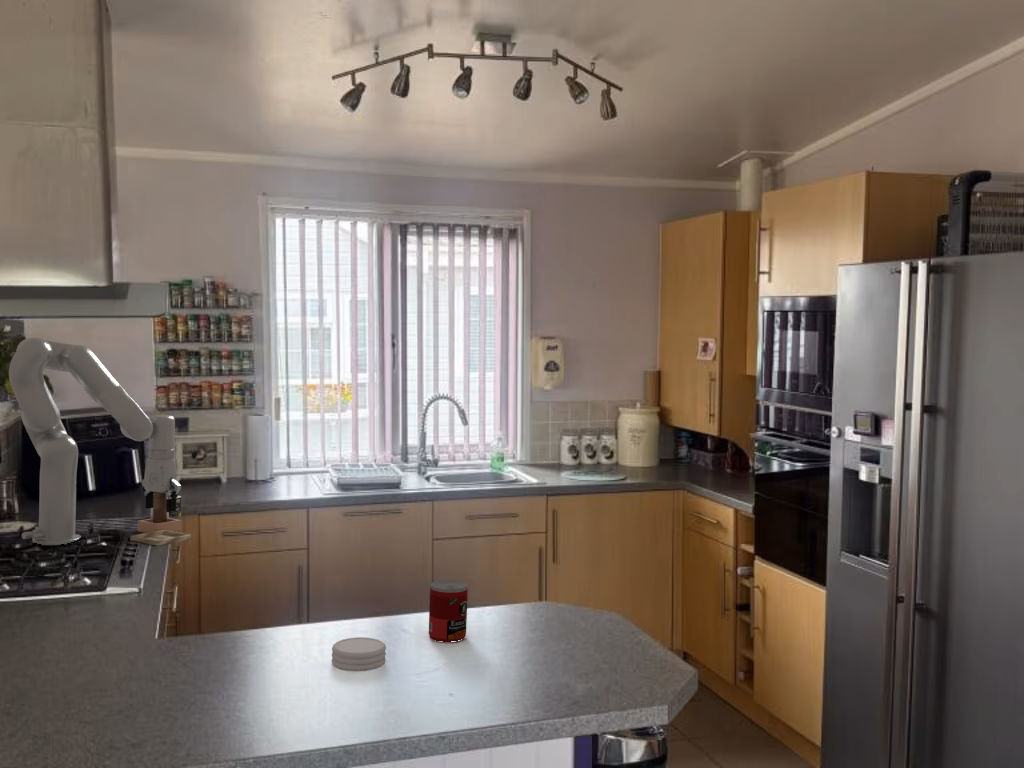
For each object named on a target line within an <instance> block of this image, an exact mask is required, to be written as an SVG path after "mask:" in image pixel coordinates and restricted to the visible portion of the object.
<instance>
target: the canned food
mask: <svg viewBox="0 0 1024 768" xmlns="http://www.w3.org/2000/svg"><path fill="white" fill-rule="evenodd" d="M468 590H469V587H468V584H467V583H466V582H463V581H462V580H461V581H459V580H453V579H440V580H435V581H433V582H431V583H430V585H429V604H428V605H429V607H428V608H429V609H428V636H429V638H430V639H431V640H432V639H433V640H432V641H434V640H436V641H435V642H437V641H443V642H451V641H458V640H461V639H463V638H464V637H465V638H466V637H467V622H468V618H467V616H468V594H469V593H468ZM465 638H464V639H465ZM464 639H463V640H464Z"/></svg>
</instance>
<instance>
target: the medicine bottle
mask: <svg viewBox="0 0 1024 768" xmlns="http://www.w3.org/2000/svg"><path fill="white" fill-rule="evenodd" d="M170 494H171V492H170ZM167 499H168V497H167ZM181 515H182V496H181V495H178V498H176V511H173V512H167V518H173V517H181ZM152 518H153V508H150V519H152Z"/></svg>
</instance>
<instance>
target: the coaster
mask: <svg viewBox="0 0 1024 768" xmlns="http://www.w3.org/2000/svg"><path fill="white" fill-rule="evenodd" d="M386 649H387V645H386V644H385V643H384V642H383V641H382V640H380V639H377V638H372V637H361V636H360V637H357V636H356V637H348V638H344V639H341V640H339V641H336V642H335V643H334V644H332V647H331V651H332V654H331V663H332V665H333V666H334V668H336V669H339V670H342V671H347V672H367V671H372V670H375V669H379V668H381V667H382V666H384V664H385V663H386V656H387V655H386V654H387V653H386Z"/></svg>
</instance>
